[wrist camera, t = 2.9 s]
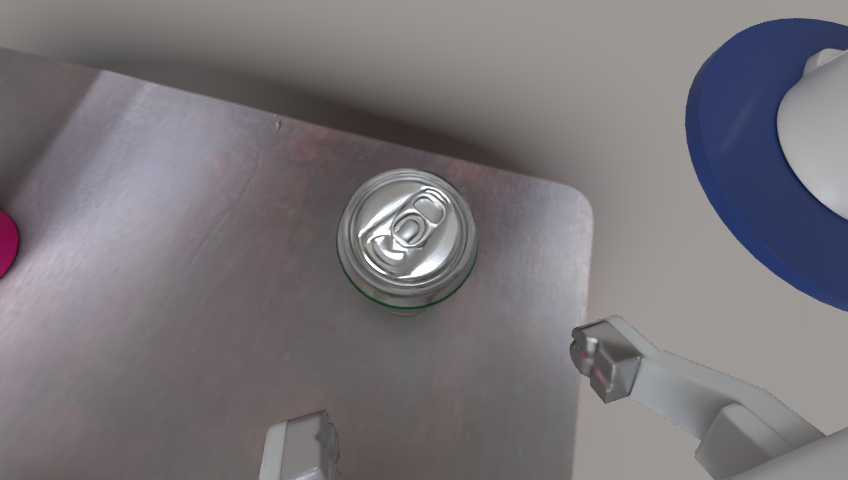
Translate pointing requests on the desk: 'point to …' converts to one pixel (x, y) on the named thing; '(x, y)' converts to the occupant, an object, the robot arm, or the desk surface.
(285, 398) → the desk surface
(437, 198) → the soda can
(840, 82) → the robot arm
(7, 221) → the pepper mill
